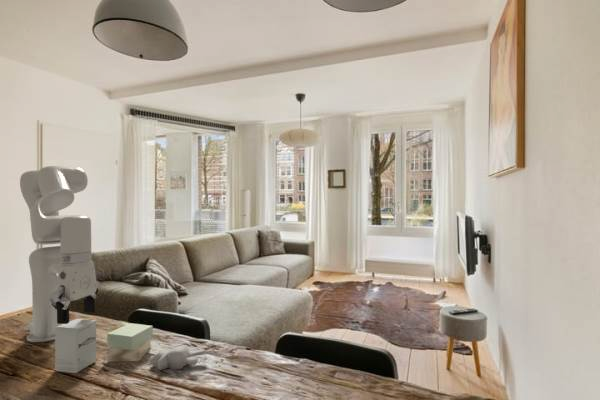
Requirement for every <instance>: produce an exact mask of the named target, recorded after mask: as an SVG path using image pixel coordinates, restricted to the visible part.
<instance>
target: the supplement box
mask: <svg viewBox="0 0 600 400" xmlns="http://www.w3.org/2000/svg"><path fill="white" fill-rule="evenodd" d="M54 341H55V343H54V345H55V347H54V353H55V356H54V358H55V359H54V365H55V366H54V369H55V370H54V371H56V372H61V373H71V374H77V373H79V372H80V371H81V370H83V369H85V368H88V366H91V365H92V364H94V363H95V362H97V319H86V318H74V319H73V320H69V323H68V324H62V325H60V326H57V327H56V328H55V340H54Z"/></svg>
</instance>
